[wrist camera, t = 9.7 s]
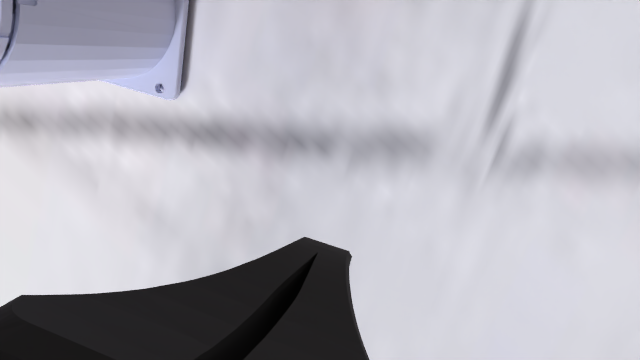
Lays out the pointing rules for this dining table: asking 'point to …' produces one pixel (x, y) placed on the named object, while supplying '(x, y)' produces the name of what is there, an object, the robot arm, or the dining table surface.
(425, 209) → the dining table surface
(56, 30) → the robot arm
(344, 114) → the dining table surface
